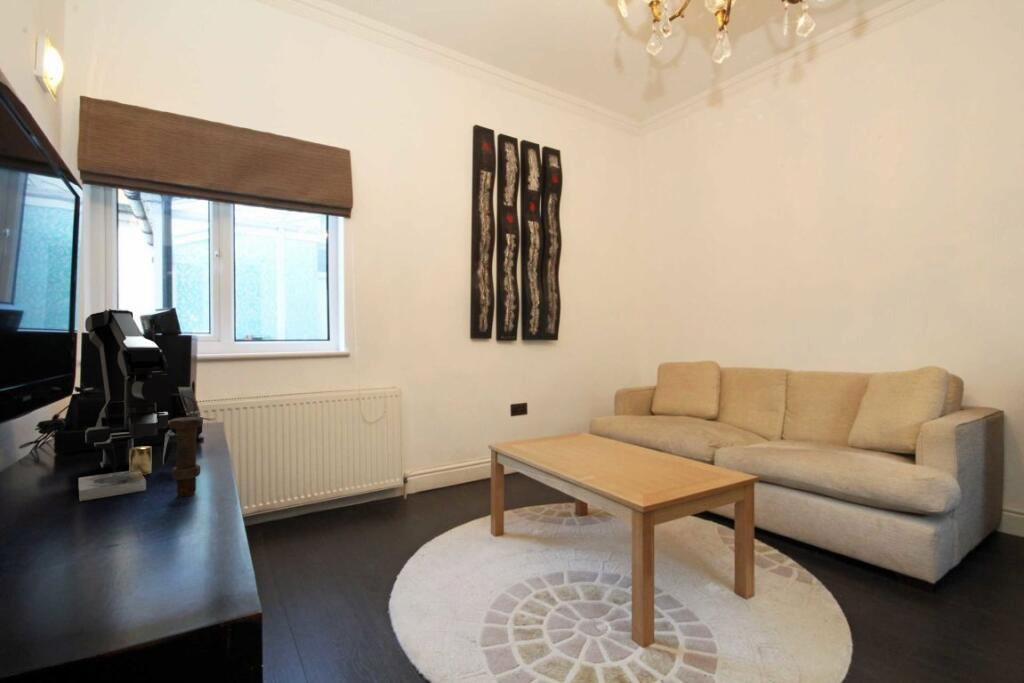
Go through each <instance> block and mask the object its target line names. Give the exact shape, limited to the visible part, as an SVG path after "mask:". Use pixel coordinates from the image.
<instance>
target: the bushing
mask: <svg viewBox="0 0 1024 683" xmlns="http://www.w3.org/2000/svg"><path fill="white" fill-rule="evenodd" d="M128 466H129V467H128V471H131V470H138V469H140V471H141V473H142V474H143V475H145V476H148V475H147V474H149V475H151V474H152V446H148V445H147V446H135V447H133V448H131V449H129V465H128ZM150 473H151V474H150Z"/></svg>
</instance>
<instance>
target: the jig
mask: <svg viewBox="0 0 1024 683" xmlns="http://www.w3.org/2000/svg"><path fill="white" fill-rule="evenodd" d="M146 490H147V480H146V477H145V476H143V474H142V473H141V471H140V469H138V470H131V471H129V470H124V471H118V472H117V471H116V472H110V473H103V474H96V475H89V476H82V477H78V498H79V502H82V501H83V500H84V501H90V500H95V499H101V498H102V499H103V498H107V497H113V496H114V497H115V496H118V495H125V494H131V493H137V492H144V491H146ZM84 501H83V502H84Z"/></svg>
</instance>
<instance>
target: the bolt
mask: <svg viewBox="0 0 1024 683" xmlns="http://www.w3.org/2000/svg"><path fill="white" fill-rule="evenodd" d="M203 425H204V419H203V417H201V416H185V417H175V418H171V419H170V424H169V428H176V436H177V441H176V466H175V467H173V468H172V470H171V478H172V479H174V480H176V495H177V496H178V497H183V496H184V497H188V496H192V495H193V494H195V493H196V491H197V484H196V483H197V479H196V478H197V477H199V476H200V474H201V465H199V464H197V457H196V456H197V452H196V451H197V434H198V428H199V427H201V426H203Z"/></svg>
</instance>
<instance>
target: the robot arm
mask: <svg viewBox="0 0 1024 683" xmlns="http://www.w3.org/2000/svg"><path fill="white" fill-rule="evenodd" d="M133 313H134V312H133V311H132V310H129V309H127V308H126V309H121V308H109V309H105V310H103V311H99V312H95V313H91V314H90V315H89V316H88V317H86V318H85V321H84V322H85V324H84V326H85V332H87V333H88V337H89V341H90V342H91V343H92V344H93V345H94V346H95V347H97V348H98V349H99V354H100V355H99V356H100V362H101V363H100V364H101V370H102V380H103V386H104V394H105V401H106V402H105V404H104V406H103V407H102V409H101V411H100V413H99V415H98V418H97V422H96V425H95V426H92V427H88V428H87V429H86V430H85V443H86V444H87V445H88V444H94V447H97V448H99V447H101V449H102V454H103V456H102V461H101V462H100V466H101V467H100V468H101V469H108V468H109V469H110V468H111V469H112V471H113V473H116V472H117V467H123V466H124V465H125V466H129V449H131V448H134V439H138V438H139V439H142V438H143V437H144V436H145V437H146V436H149V437H152V436H156V435H158V433H165V435H164V444H163V445H164V446H163V453H162V465H163V466H166V465H167V463H168V460H169V457H170V455H171V453H172V450H173V448H174V446H175V444H176V443H177V441H178V440H177V436H176V428H169V424H170V420H171V419H170V420H169V413H168V411H163V412H161V411H160V412H157V404H160V403H163V402H165V401H167V400H168V399H169V398H170V397H171V396H172V394H173V385H172V383H171V381H170V380H168V379H167V378H166V377H164V376H163V375H168V374H169V372H168V370H169V365H168V362H167V360H166V357H165V355H164V353H163V350H162V349H161V348H160V347H159V346H158V345H157V343H155V342H154V341H152V340H150V339H147V338H145V337H144V335H143V334H142V331H141V330H140V328H139V326H138V325H137V323H136V321H135V319H134V314H133ZM125 466H124V467H125Z"/></svg>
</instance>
